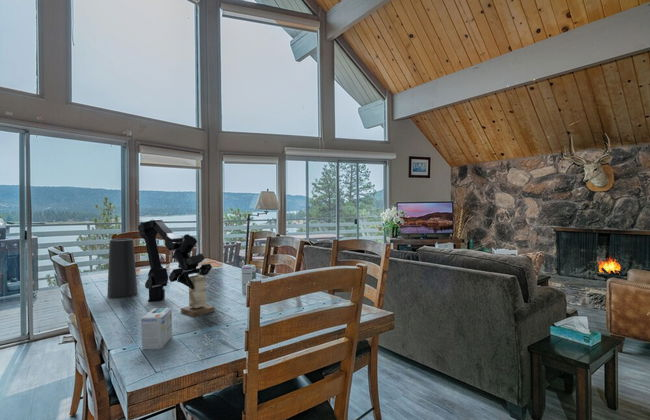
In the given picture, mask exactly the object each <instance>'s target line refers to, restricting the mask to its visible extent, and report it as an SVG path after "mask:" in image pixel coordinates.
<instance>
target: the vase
mask: <svg viewBox="0 0 650 420" xmlns="http://www.w3.org/2000/svg"><path fill="white" fill-rule="evenodd" d="M108 245H109V248H108V249H109V250H108V266H107V267H108V273H107V274H108V276H107V290H106V291H107V298H108V297H109V298H108V299H114V298H116V299H125V297H126V298H130V297H134V296H136V295H138V281H137V270H136V269H137V268H136V258H135V244H134V239H133V238H129V237H128V238H127V237H126V238H113V239H110V240H109V244H108Z"/></svg>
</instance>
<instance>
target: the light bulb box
mask: <svg viewBox="0 0 650 420" xmlns="http://www.w3.org/2000/svg"><path fill="white" fill-rule="evenodd" d="M172 310H173V309H172V307H160V308H159V307H158V308H157V307H156V308H155V307H154V308H152V309H151V310H150V311H148V312H147V313H146V314H145V315H144V316H142V317H141V318H140V326H141V328H140V330H141V332H140V333H141V350H162V349H163V348H164V347H165V345H166V344H167V343H168V342H169V340H171V338H173V317H172V313H173V311H172Z"/></svg>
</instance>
